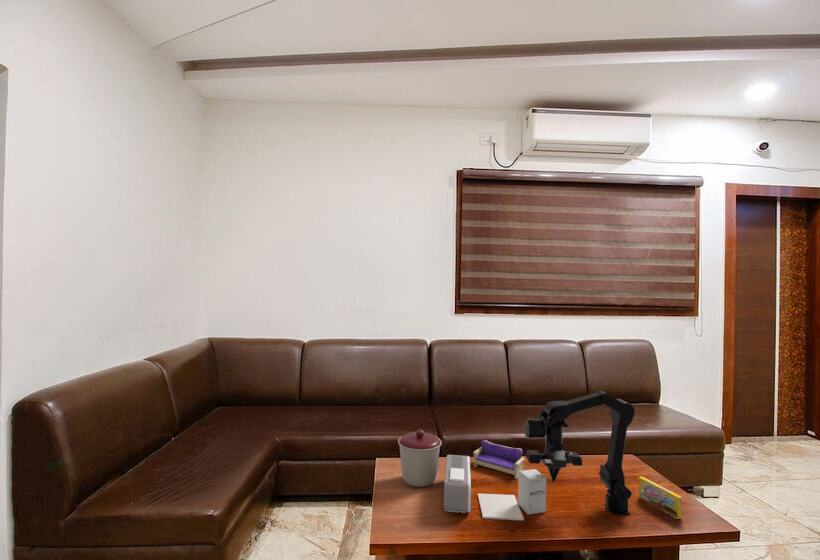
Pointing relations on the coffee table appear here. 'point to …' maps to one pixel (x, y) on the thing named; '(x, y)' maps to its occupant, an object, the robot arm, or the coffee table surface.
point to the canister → (419, 457)
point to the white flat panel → (499, 507)
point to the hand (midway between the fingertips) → (553, 481)
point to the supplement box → (532, 491)
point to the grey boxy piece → (457, 484)
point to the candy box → (660, 497)
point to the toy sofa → (499, 458)
